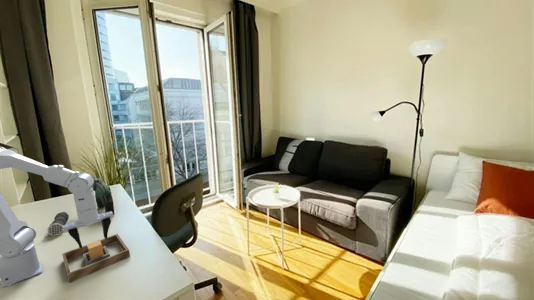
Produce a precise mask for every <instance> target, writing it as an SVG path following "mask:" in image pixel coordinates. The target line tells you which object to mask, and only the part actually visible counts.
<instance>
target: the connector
mask: <svg viewBox="0 0 534 300" xmlns="http://www.w3.org/2000/svg"><path fill="white" fill-rule="evenodd" d="M100 240H101V239H98V240H95V241H92V242H90V243H87V244H86V245H87V249H88V253H89V258H88V259H89V261H90V260H93V259H95V258H98V257H100V256H103V255H105V253H104V252H103V248H102V244H101V242H100Z"/></svg>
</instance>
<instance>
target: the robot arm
mask: <svg viewBox="0 0 534 300" xmlns="http://www.w3.org/2000/svg"><path fill="white" fill-rule="evenodd" d="M9 168H14V169H17V170H21V171H25V172H28V173H31V174H33V175H34V174H35V175H38V176H42V177H43V180H44V181H46V182H48V183H51V184H54V185H58V186H61V187H64V188H67V189H68V191H69V192H70V193H72V194H73V200H74V205H75V210H76V215H77V218H78V219H77V220H74V221H72V222H70V223H67V224H65V225H64V226H63V232H64V234H65V233H68V235H69V236H71V237H72V239H74V241H75V242H76V243H77V245H78V248H79V247H80V248H82V246H83V245H82V242H81V237H80V232H79V231H78V230H79V228H81V227H85V226H88V225H92V224H95V223H98V222H101V226H102V233H103V239H104V238H105V239H107V237H108V234H109V229H110V226H111V223H112V220H111V219H113V218H114V215H113V213H112V211H111V212H107V213H106V212H104V213H103V212H102V213H98V208H97V204H96V198H95V191H93V187H91V186H92V185H93V183H94V178H93V177H94V176H93V175H92V174H90V173H88V172H80V171H77V170H76V171H74V170H71V169H69V168H66V167H65V165H63V164H58V165H57V164H53V165H49V166H48V165H46V164H43V163H41V162H39V161H37V160H34V159H32V158H30V157H27V156H24V155H22V154H19V153H18V152H16V151H14V150H12V149H8V148H5V147H3V146H0V170H2V169H9ZM92 176H93V177H92ZM36 237H37V231H36V229H35V228H33V227H31V226H30V225H29V224H28V223H27V221H23V220H20V219H19V218H18V217H17V216H16V214H15V213H14V211H13V209H12V207H11V206H10V204H9V203H8V202H7V200H6V199H5V196H3V194H2V191H0V282H1V284H2V286H1V287H2V288H6V287H8V286H11V285H13V284H14V285H15V284H16V283H19V282H21V281H24V280H26V279H29V278H32V277H34V276H37V275H40V274H41V273H43V266H42V265H43V264H42V261H39V257H38V254H37V249H36V247H35V242H34V240H35V239H36Z"/></svg>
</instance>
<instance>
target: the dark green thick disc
mask: <svg viewBox="0 0 534 300" xmlns="http://www.w3.org/2000/svg"><path fill="white" fill-rule="evenodd" d="M91 176H92V177H93V178H94V183H93V185H92V186H91V187H93V192H94V196H95V201H96V206H97V209H104V211H105V212H104V213H107V212H111V211H112V213H113V216H114V215H115V206H114V199H113V195H112V193H113V192H112V190H111V187H110V186H108V185H107V184H106V183H105V182H104V181H103V178H102V177H100V176H99V174H96V177H95V176H93V175H91Z"/></svg>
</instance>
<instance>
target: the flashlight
mask: <svg viewBox="0 0 534 300" xmlns="http://www.w3.org/2000/svg"><path fill="white" fill-rule="evenodd" d="M69 217H70V215H69V214H68V212H65V211H61V212H58V213H56V215H55V216H54V218H53V219H54V220H52V222H51V223H50V224H49V226H48V228H47V234H49V235H51V236H58V235H61V234H62V233H63V232H64V230H63V226H64V225H66V222H68V220H69Z"/></svg>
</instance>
